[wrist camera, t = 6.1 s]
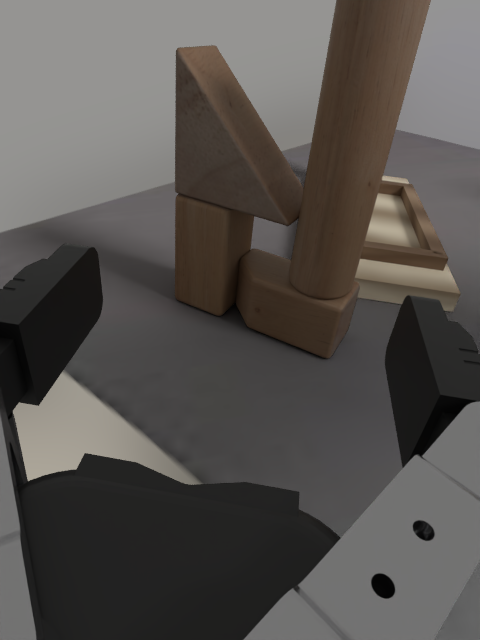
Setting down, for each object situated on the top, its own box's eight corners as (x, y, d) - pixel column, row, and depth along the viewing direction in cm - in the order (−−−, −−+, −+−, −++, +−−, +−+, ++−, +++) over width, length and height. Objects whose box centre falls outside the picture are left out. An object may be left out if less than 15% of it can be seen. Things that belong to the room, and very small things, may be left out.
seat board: (452, 312, 31) (466, 280, 30) (307, 290, 32) (314, 258, 30) (402, 192, 51) (409, 169, 49) (313, 180, 51) (317, 157, 50)
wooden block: (202, 277, 32) (218, -49, 22) (348, 331, 28) (452, -31, 18) (172, 301, 29) (172, -60, 19) (328, 364, 26) (437, -41, 15)
